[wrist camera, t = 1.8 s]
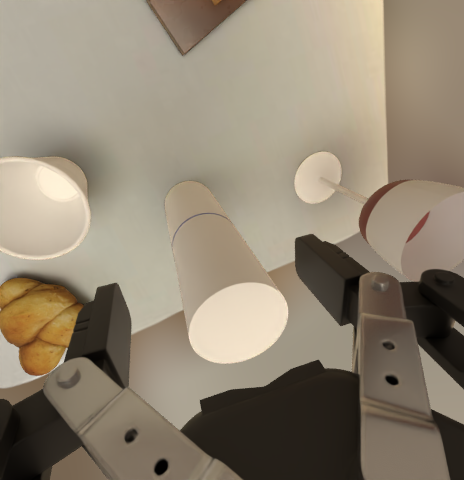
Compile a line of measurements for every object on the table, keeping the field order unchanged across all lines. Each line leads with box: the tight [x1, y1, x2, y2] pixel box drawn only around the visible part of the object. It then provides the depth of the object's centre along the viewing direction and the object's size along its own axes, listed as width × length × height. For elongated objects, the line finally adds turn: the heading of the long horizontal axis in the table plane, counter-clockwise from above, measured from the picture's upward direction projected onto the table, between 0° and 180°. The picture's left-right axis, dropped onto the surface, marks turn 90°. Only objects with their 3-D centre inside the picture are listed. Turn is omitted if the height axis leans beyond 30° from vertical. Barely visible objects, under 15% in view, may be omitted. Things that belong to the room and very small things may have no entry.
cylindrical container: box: [164, 181, 288, 364], centre depth 30 cm, size 7×7×25 cm
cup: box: [0, 156, 91, 260], centre depth 30 cm, size 10×10×11 cm
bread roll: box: [0, 278, 84, 376], centre depth 38 cm, size 13×10×8 cm
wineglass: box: [294, 151, 464, 282], centre depth 35 cm, size 9×10×22 cm
